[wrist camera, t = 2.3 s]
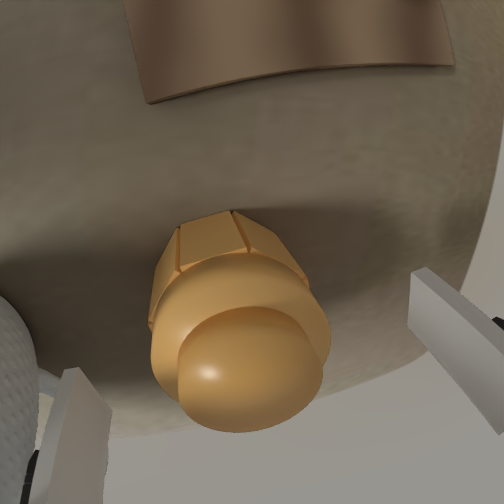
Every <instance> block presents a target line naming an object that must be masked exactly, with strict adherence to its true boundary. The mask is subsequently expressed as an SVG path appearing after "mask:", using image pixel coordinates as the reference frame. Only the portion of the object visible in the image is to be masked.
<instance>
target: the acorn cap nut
mask: <svg viewBox="0 0 504 504" xmlns="http://www.w3.org/2000/svg"><path fill="white" fill-rule="evenodd" d="M148 321H149V322H148V326H149V328H150V330H151V332H152V346H151V365H152V369H153V373H154V376H155V378H156V379H157V381H158V383H159V385H160V386H161V387H162V389H163V390H164V391H165V392H166V393H167V394H168V395H169V396H170V397H172V398H173V399H174V400H176V401H177V402H179V403H180V404H181V406H182V408H183V410H184V411H185V413H186V414H187V415H188V416H189V417H190V418H191V419H192V420H194V421H195V422H197V423H198V424H200V425H202V426H204V427H207V428H210V429H213V430H217V431H223V432H233V433H240V432H251V431H258V430H262V429H266V428H269V427H272V426H275V425H277V424H280V423H282V422H284V421H286V420H288V419H290V418H291V417H293V416H295V415H296V414H297V413H299V412H300V411H301V410H303V409H304V408H305V407H306V406H307V405H308V404H309V403H310V402H311V401H312V400H313V398H314V397H315V395H316V394H317V392H318V390H319V388H320V386H321V383H322V378H323V368H322V367H323V365H324V363H325V361H326V359H327V357H328V354H329V350H330V345H331V330H330V324H329V322H328V319H327V316H326V315H325V313H324V311H323V310H322V308H321V307H320V305H319V304H318V302H317V301H316V299H315V298H314V296H313V295H312V294H311V292H310V287H309V280H308V278H307V276H306V275H305V273H304V272H303V271H302V269H301V268H300V267H299V265H298V264H297V263H296V261H295V260H294V258H293V257H292V256H291V254H290V253H289V252H288V250H287V249H286V248H285V246H284V245H283V243H282V242H281V241H280V239H279V238H278V237H277V235H276V234H275V233H274V232H272V231H270V230H269V229H267V228H265V227H263V226H261V225H259V224H258V223H256V222H254V221H252V220H250V219H249V218H247V217H245V216H243V215H241V214H239V213H238V212H236V211H233V213H232V215H231V213H230V211H229V210H228V211H224V212H221V213H217V214H214V215H210V216H207V217H203V218H200V219H196V220H193V221H190V222H186V223H183V224H181V228H178V227H177V228H176V230H175V232H174V233H173V235H172V237H171V239H170V241H169V243H168V245H167V246H166V248H165V250H164V252H163V254H162V256H161V258H160V260H159V262H158V264H157V266H156V267H155V274H154V280H153V287H152V294H151V301H150V309H149V317H148Z"/></svg>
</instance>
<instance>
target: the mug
mask: <svg viewBox="0 0 504 504" xmlns="http://www.w3.org/2000/svg"><path fill="white" fill-rule="evenodd" d="M60 380H61V379H60V378H59V377H57V376H55V375H53V374H51V373H49V372H48V371H46V370H44V369H42V368H40V367H38V365H37V361H36V355H35V350H34V346H33V341H32V338H31V335H30V333H29V330H28V328H27V327H26V325H25V323H24V321H23V320H22V318H21V317H20V315H19V314H18V312H17V311H16V310H15V309H14V308H13V307H12V306H11V305H10V303H9V302H7V301H6V300H5V299H4V298H3V297H2V296H0V504H20V499H21V494H22V489H23V485H24V484H25V483H24V479H25V475H27V474H26V471H27V466H28V462H29V460H30V458H31V456H32V455H33V451H34V448H35V440H36V432H37V427H38V423H37V419H38V413H39V409H38V407H39V403H38V399H39V393H44V394H46V395H49V396H51V397H54V398H55V395H56V392H57V389H58V386H59V383H60ZM107 465H108V448H107V457H106V466H105V475H106V471H107ZM104 478H105V477H104Z"/></svg>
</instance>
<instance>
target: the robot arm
mask: <svg viewBox="0 0 504 504" xmlns="http://www.w3.org/2000/svg"><path fill="white" fill-rule="evenodd" d="M407 327H408V328H409V329H410V330H411V331H412V332H413V333H414V334H415V336H416V337H417V338H418V339H419V340H420V341H421V342H422V343H423V345H424V346H425V347H426V348H427V349H428V350H429V351H430V352H431V354H432V355H433V356H434V357H435V358H436V359H437V361H438V362H439V363H440V364H441V365H442V366H443V367H444V369H445V370H446V371H447V372H448V373H449V375H450V376H451V377H452V378H453V379H454V380H455V382H456V383H457V384H458V385H459V387H460V388H461V389H462V390H463V391H464V392H465V394H466V395H467V396H468V397H469V398H470V400H471V401H472V402H473V404H474V405H475V406H476V407H477V408H478V410H479V411H480V412H481V414H482V415H483V416H484V417H485V419H486V420H487V421H488V423H489V424H490V425H491V426H492V428H493V429H494V430H495V432H496V433H497V434H498V435H500V434H501V433H502V432H504V320H503V319H501V318H498V317H495V318H493V319H492V320H491V319H490V318H488V317H487V316H486V315H485V314H484V313H483V312H482V311H481V310H479V309H478V308H477V307H476V306H475V305H473V304H472V303H471V302H470V301H469V300H467V299H466V298H465V297H464V296H463V295H461V294H460V293H459V292H458V291H456V290H455V289H454V288H453V287H451V286H450V285H449V284H448V283H446V282H445V281H444V280H443V279H441V278H440V277H439V276H438V275H436V274H435V273H434V272H432V271H431V270H430V269H428V268H427V267H423V268H421V269H418V270H416V271H413V272H411V283H410V298H409V310H408V321H407ZM111 418H112V409H111V408H110V407H109V406H108V404H107V403H106V402H105V401H104V399H103V398H102V397H101V396H100V394H99V393H98V392H97V390H96V389H95V388H94V387H93V385H92V384H91V383H90V381H89V380H88V378H87V377H86V376H85V374H84V373H83V372H82V370H81V369H80V367H76V368H70V369H64V372H63V374H62V377H61V380H60V383H59V386H58V389H57V392H56V395H55V398H54V401H53V404H52V408H51V411H50V414H49V418H48V421H47V424H46V428H45V432H44V435H43V439H42V443H41V447H40V450H35V451H34V453H33V455H32V456H31V458H30V460H29V462H28V466H27V471H26V474H27V475H25V479H24V483H25V484H24V485H23V489H22V494H21V499H20V504H103V489H104V477H105V466H106V457H107V448H108V440H109V432H110V425H111Z"/></svg>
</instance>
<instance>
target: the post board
mask: <svg viewBox="0 0 504 504" xmlns="http://www.w3.org/2000/svg"><path fill="white" fill-rule="evenodd" d="M123 2H124V7H125V12H126V17H127V22H128V27H129V32H130V36H131V41H132V45H133V50H134V54H135V59H136V63H137V67H138V71H139V76H140V80H141V84H142V88H143V92H144V96H145V100H146V103H147V104H150V105H151V104H154V103H157V102H161V101H164V100H167V99H171V98H174V97H178V96H181V95H185V94H189V93H192V92H196V91H200V90H204V89H208V88H212V87H217V86H221V85H225V84H230V83H235V82H240V81H245V80H250V79H255V78H261V77H267V76H273V75H279V74H286V73H293V72H300V71H309V70H317V69H328V68H339V67H354V66H376V65H421V66H455V63H454V57H453V52H452V48H451V43H450V38H449V34H448V30H447V26H446V22H445V18H444V14H443V11H442V7H441V4H440V0H123Z"/></svg>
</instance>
